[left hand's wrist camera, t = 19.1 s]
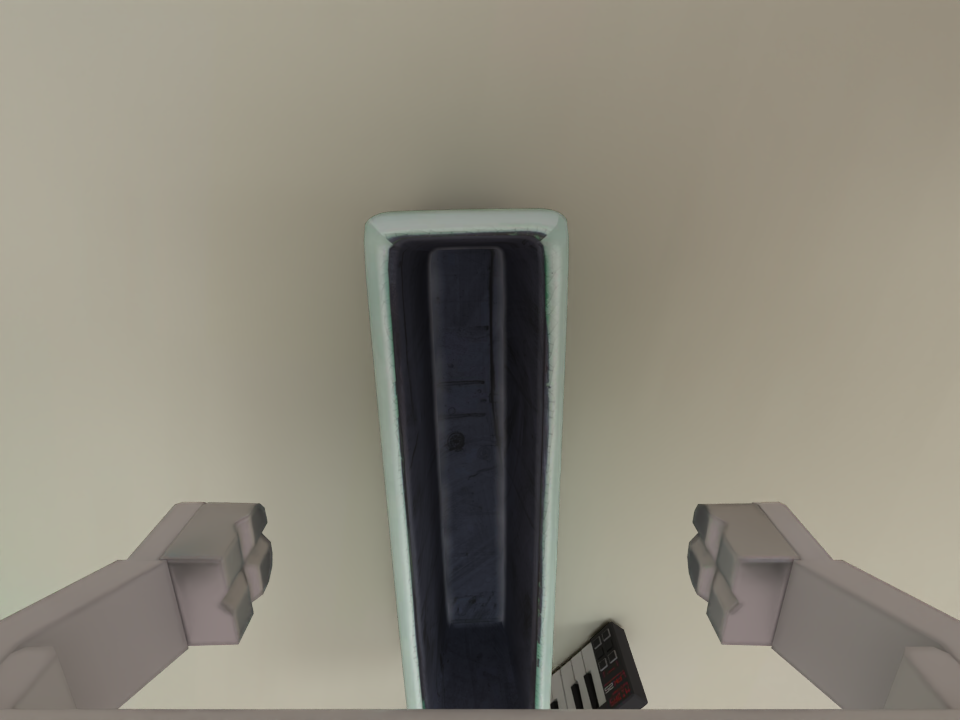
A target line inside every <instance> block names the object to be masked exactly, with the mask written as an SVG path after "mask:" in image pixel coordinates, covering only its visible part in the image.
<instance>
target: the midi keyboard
mask: <svg viewBox="0 0 960 720" xmlns="http://www.w3.org/2000/svg"><path fill="white" fill-rule="evenodd" d="M581 651H582V653H581ZM581 651H580V652H579V653H578V654H576V655H575V656H574V657H573V658H572V659H571V660H570V661H569V662H567V663H566V664H565V665H564V666H563V667H562V668H561V672H560V669H559V670H558V671H557V672H556V673H554V674H553V675H552V676H551V695H550V709H641V708H643V707H644V706H645V705H646V704H647V703H648V701H647V698H646V695H645V692H644V689H643V686H642V683H641V680H640V677H639V674H638V671H637V668H636V665H635V662H634V659H633V656H632V653H631V650H630V647H629V644H628V641H627V638H626V635H625V632H624V629H622V628H620V627H619V626H617V625H616V624H614V623H613V622H610V623H609V624H608V625H606V626H605V627H604V628H603V629H602V630H601V631H600V632H598V633H597V634H596V635H595V636H594V637H593V638H591V642H590V643H589V644H588V645H587V646H586V647H584V648H583V649H582V650H581ZM582 655H583V657H582ZM571 662H572V663H571Z"/></svg>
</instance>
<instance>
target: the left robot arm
mask: <svg viewBox="0 0 960 720" xmlns="http://www.w3.org/2000/svg"><path fill="white" fill-rule="evenodd" d="M266 524H267V518H266V513H265V508H264V507H263V506H262V505H261V504H260V503H219V502H208V503H205V502H181V503H178V504H175V505H174V506H173V507H172V508H171V509H170V511H169V512H168V513H167V514H166V515H165V516H164V517H163V519H162V520H161V521H160V522H159V523H158V524H157V525H156V527H155V528H154V529H153V530H152V531H151V532H150V534H149V535H148V536H147V537H146V538H145V539H144V540H143V542H142V543H141V544H140V545H139V546H138V547H137V548H136V550H135V551H134V552H133V553H132V554H131V555H130V557H129V558H128V559H127V560H117V561H115V562H113V563H111V564H109V565H107V566H105V567H103V568H101V569H99V570H97V571H96V572H94V573H92V574H90V575H88V576H86V577H84V578H82V579H80V580H78V581H76V582H74V583H72V584H70V585H68V586H66V587H65V588H63V589H61V590H59V591H57V592H55V593H53V594H51V595H49V596H47V597H45V598H43V599H41V600H39V601H37V602H35V603H34V604H32V605H30V606H28V607H26V608H24V609H22V610H20V611H18V612H16V613H14V614H12V615H10V616H8V617H6V618H4V619H3V620H1V621H0V720H960V621H959V620H957V619H955V618H953V617H951V616H949V615H948V614H946V613H944V612H942V611H940V610H938V609H936V608H934V607H932V606H930V605H928V604H926V603H924V602H922V601H920V600H919V599H917V598H915V597H913V596H911V595H909V594H907V593H905V592H903V591H901V590H899V589H897V588H895V587H893V586H891V585H890V584H888V583H886V582H884V581H882V580H880V579H878V578H876V577H874V576H872V575H870V574H868V573H866V572H864V571H862V570H861V569H859V568H857V567H855V566H853V565H851V564H849V563H847V562H845V561H843V560H833V559H832V558H831V557H830V555H829V554H828V553H827V552H826V551H825V550H824V548H823V547H822V546H821V545H820V544H819V543H818V542H817V540H816V539H815V538H814V537H813V536H812V535H811V534H810V532H809V531H808V530H807V529H806V528H805V527H804V526H803V524H802V523H801V522H800V521H799V520H798V519H797V517H796V516H795V515H794V514H793V513H792V512H791V511H790V509H789V508H788V507H787V506H786V505H785V504H782V503H780V502H758V503H742V504H698V505H697V507H696V509H695V512H694V517H693V524H694V526H695V528H696V529H697V531H698V534H697V535H696V536H695V537H694V538H693V539H692V540H691V541H690V542H689V548H688V556H687V558H688V570H689V575H690V578H691V582H692V585H693V587H694V589H695V591H696V593H697V595H699V596H700V597H702V598H703V599H704V600H706V601H707V602H708V608H707V613H706V614H707V616H708V618H709V620H710V622H711V624H712V626H713V628H714V630H715V632H716V634H717V636H718V638H719V640H720V642H721V644H725V645H761V646H772V649H773V650H774V651H775V652H777V653H778V654H779V655H780V656H781V657H782V658H784V659H785V660H786V661H787V662H788V663H789V664H791V665H792V666H793V667H794V668H795V669H796V670H798V671H799V672H800V673H801V674H802V675H803V676H805V677H806V678H807V679H808V680H809V681H810V682H812V683H813V684H814V685H815V686H816V687H817V688H819V689H820V690H821V691H822V692H823V693H824V694H825V695H827V696H828V697H829V698H830V699H831V700H832V701H834V702H835V703H836V704H837V705H838V706H839V707H841V708H842V709H118V708H119V707H121V706H122V705H123V704H124V703H125V702H126V701H128V700H129V699H130V698H131V697H132V696H134V695H135V694H136V693H137V692H138V691H139V690H141V689H142V688H143V687H144V686H145V685H146V684H148V683H149V682H150V681H151V680H152V679H153V678H155V677H156V676H157V675H158V674H159V673H160V672H162V671H163V670H164V669H165V668H166V667H167V666H169V665H170V664H171V663H172V662H173V661H174V660H176V659H177V658H178V657H179V656H180V655H181V654H183V653H184V652H185V651H186V650H187V649H188V646H199V645H233V644H239V642H240V640H241V638H242V636H243V634H244V632H245V630H246V628H247V626H248V624H249V622H250V620H251V618H252V616H253V614H254V613H253V608H252V602H253V601H254V600H256V599H257V598H258V597H260V596H261V595H263V593H264V591H265V589H266V587H267V584H268V582H269V578H270V574H271V569H272V547H271V542H270V541H269V540H268V539H267V538H266V537H265V536H264V535H263V534H262V531H263V529H264V528H265V526H266Z"/></svg>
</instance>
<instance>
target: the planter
mask: <svg viewBox="0 0 960 720" xmlns="http://www.w3.org/2000/svg"><path fill="white" fill-rule="evenodd" d="M568 242H569V236H568V228H567V220H566V218H565V217H564V216H563V215H562V214H561V213H559V212H557V211H554V210H550V209H539V208H521V209H458V210H422V211H395V212H385V213H380V214H377V215H375V216H373V217H371V218H370V219H369V220H368V221H367V222H366V224H365V234H364V251H365V268H366V283H367V294H368V306H369V317H370V328H371V340H372V351H373V362H374V372H375V383H376V394H377V405H378V416H379V426H380V437H381V448H382V458H383V469H384V479H385V490H386V500H387V511H388V521H389V532H390V543H391V553H392V563H393V573H394V584H395V594H396V604H397V615H398V625H399V635H400V645H401V655H402V665H403V675H404V685H405V695H406V705H407V709H550V695H551V675H552V654H553V632H554V610H555V588H556V565H557V543H558V519H559V496H560V472H561V449H562V424H563V399H564V375H565V350H566V323H567V294H568Z"/></svg>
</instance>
